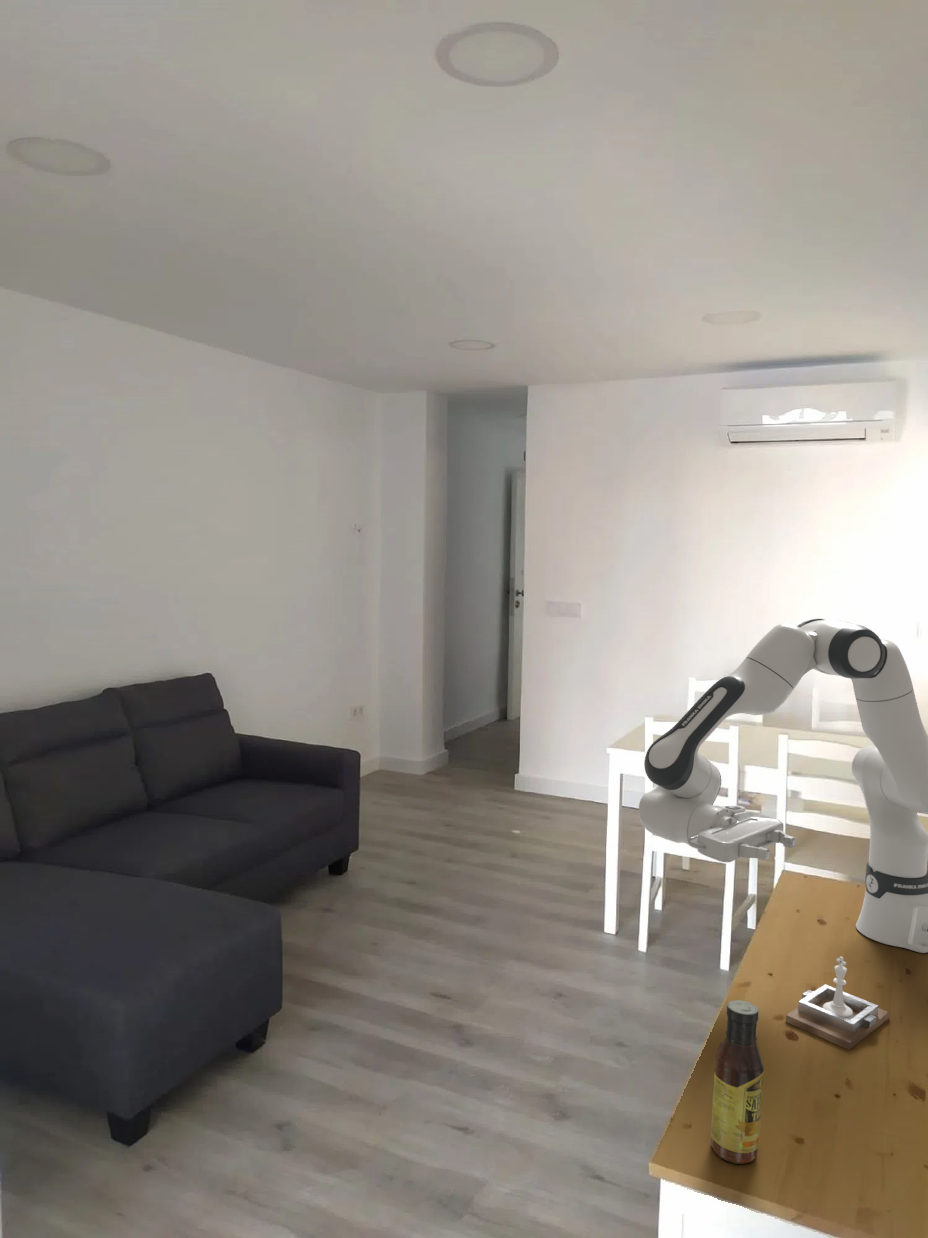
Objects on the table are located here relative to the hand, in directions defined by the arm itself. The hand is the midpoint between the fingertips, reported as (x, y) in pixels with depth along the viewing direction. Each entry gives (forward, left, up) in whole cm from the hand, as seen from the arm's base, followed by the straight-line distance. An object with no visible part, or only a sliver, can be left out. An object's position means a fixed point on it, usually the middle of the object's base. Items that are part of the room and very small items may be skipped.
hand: (781, 849), depth 160 cm
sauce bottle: (+29, +38, -27) cm, 55 cm away
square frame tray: (-6, +11, -26) cm, 28 cm away
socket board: (-6, +11, -27) cm, 30 cm away
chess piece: (-6, +10, -26) cm, 28 cm away
